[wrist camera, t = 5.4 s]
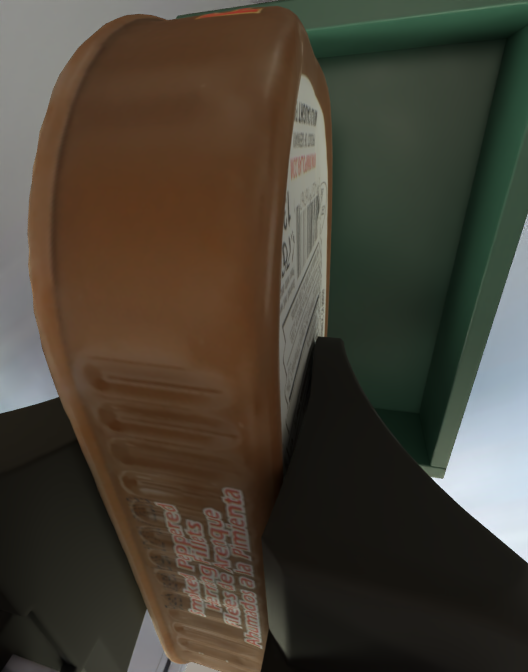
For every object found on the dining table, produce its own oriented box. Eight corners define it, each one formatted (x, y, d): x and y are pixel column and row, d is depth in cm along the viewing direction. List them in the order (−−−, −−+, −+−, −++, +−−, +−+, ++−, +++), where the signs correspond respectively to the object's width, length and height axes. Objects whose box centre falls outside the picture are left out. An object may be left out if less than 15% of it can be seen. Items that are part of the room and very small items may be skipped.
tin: (241, 70, 9) (-279, -166, 2) (366, 55, 8) (202, -470, 1) (265, 464, 16) (171, 705, 9) (331, 479, 15) (282, 760, 8)
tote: (429, 418, 21) (443, 479, 17) (251, 395, 24) (229, 443, 20) (533, 10, 12) (613, -51, 8) (224, 48, 15) (174, 15, 11)
